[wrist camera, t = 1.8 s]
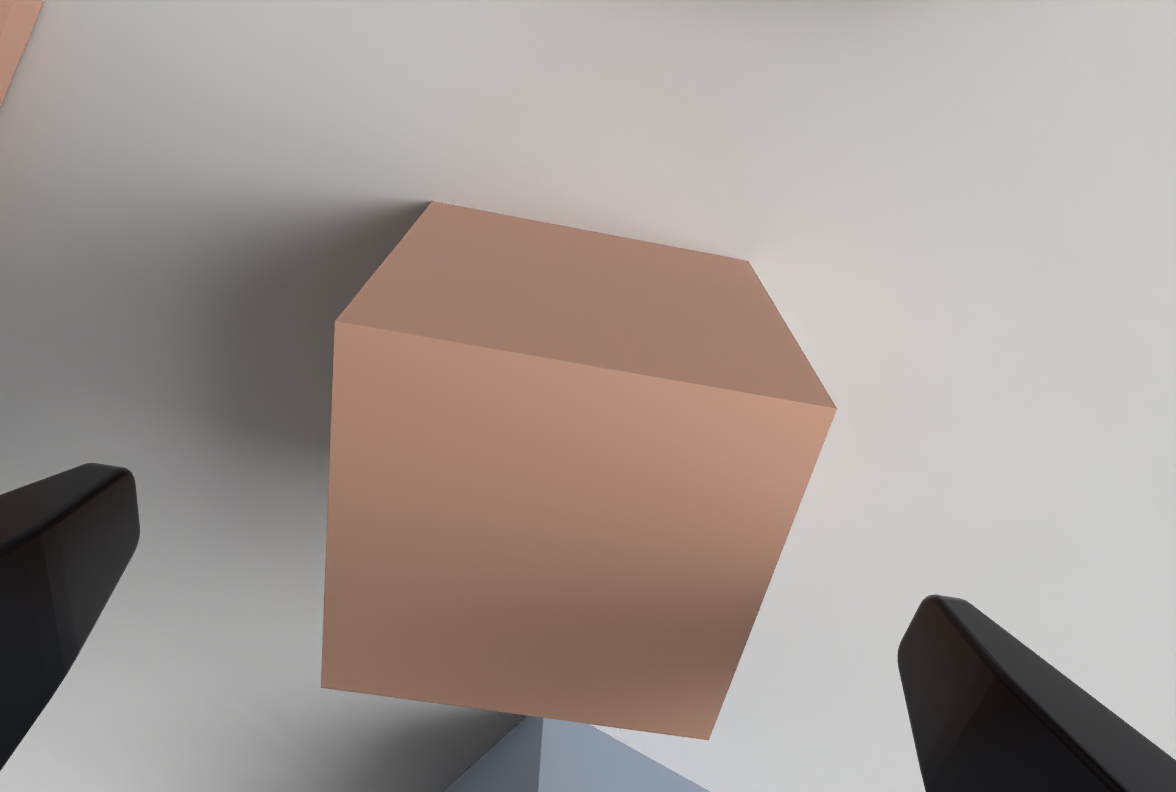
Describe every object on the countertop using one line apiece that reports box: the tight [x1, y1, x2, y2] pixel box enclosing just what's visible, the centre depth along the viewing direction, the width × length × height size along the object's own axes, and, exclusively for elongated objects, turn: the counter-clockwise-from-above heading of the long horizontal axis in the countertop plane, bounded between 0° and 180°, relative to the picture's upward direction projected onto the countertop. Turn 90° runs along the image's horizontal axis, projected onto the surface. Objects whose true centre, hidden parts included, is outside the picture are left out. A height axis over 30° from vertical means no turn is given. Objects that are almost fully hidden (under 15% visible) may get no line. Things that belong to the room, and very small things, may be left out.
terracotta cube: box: [321, 201, 837, 740], centre depth 11 cm, size 5×5×5 cm
